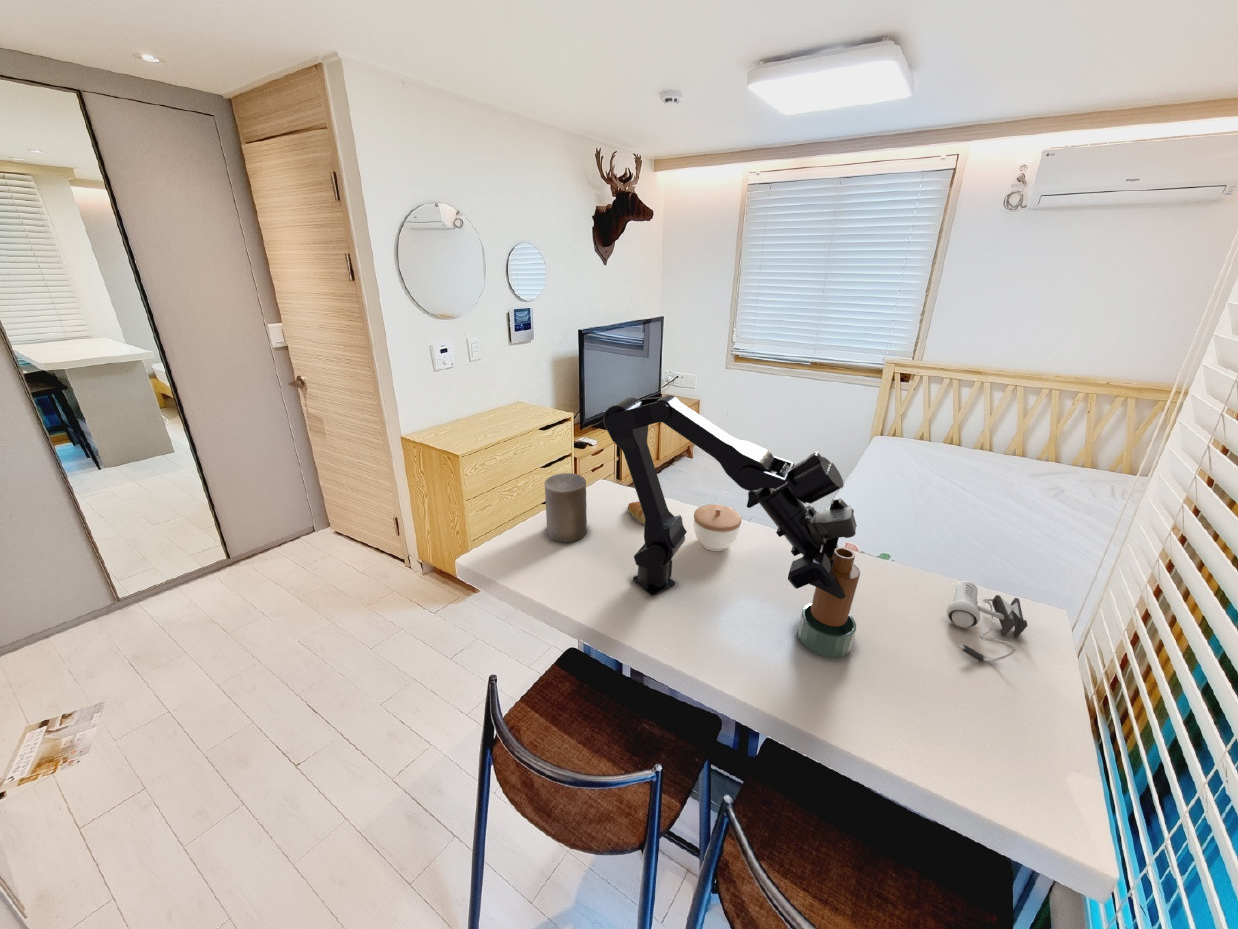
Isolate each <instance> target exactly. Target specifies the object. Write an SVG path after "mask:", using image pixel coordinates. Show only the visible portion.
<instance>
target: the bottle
mask: <svg viewBox="0 0 1238 929" xmlns="http://www.w3.org/2000/svg"><path fill="white" fill-rule="evenodd" d="M828 559H829V561H831V560H833V559H834V564H833V568H832V571H833V573H834V575H835V577H836V578H837V580H838V582H839V583H840V585H841V587H842V589H843V591H844V593H845V595H846V597H845V598H843V599H839V598H837V597H835V596H833V595H831V594H829V593H827V592H825V591H823V590H822V589H819V588H817V587H815V588H814V593H813V596H812V601H811V603H812V605H811V613H812V615H813V616H814V617H815V618H816V619H817V620H818V621H820V622H821V623H823V624H826V625H829V626H842V625H844V624H845V623H846V622H847V619H848V616H849V614H850V612H851V609H852V605H853V601H854V598H855V594H856V590H857V587H858V583H859V579H860V576H861V571H860V568H859V567H858V566H857V565H856V564H854V562H855V559H856V554H855V552H854V551H853V550H851V549H849V548H847V547H841V546H840V547H839V548H836V549H834V552H833V557H832V558H828Z"/></svg>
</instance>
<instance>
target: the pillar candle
mask: <svg viewBox="0 0 1238 929" xmlns="http://www.w3.org/2000/svg"><path fill="white" fill-rule="evenodd" d="M544 494H545V495H544V496H545V517H546V532H547V537H548V538H549V539H551V540H552V541H554V542H556V543H557V542H558V543H566V544H568V543H574V542H578V541H580V540H582V539H583V538H585V537H586V536H587V534H588V529H587V524H588V520H587V517H588V516H587V480H586V478H585V477H584V476H582V475H580V474H577V473H573V472H572V473H571V472H563V473H555V474H552V475H550V476H549V477H547V478H546V479H545V481H544Z"/></svg>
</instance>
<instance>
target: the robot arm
mask: <svg viewBox="0 0 1238 929" xmlns="http://www.w3.org/2000/svg"><path fill="white" fill-rule="evenodd" d="M602 421H603V425H604V427H605V429H606V431H607V433H608V435H609V437H610V439H611V441H612V442H613V443H614V444H615V445H616V446H617V447H618V448H619V449H620V450H621V451H622V453H623V455H624V458H625V462H626V464H627V468H628V471H629V475H630V477H631V481H632V483H633V486H634V489H635V492H636V495H637V498H638V502H640V505H641V508H642V511H643V514H644V517H645V525H644V527H643V528H644V530H643V541H644V543H643V544H642V546H641V547H640V548H639V549H638V551H637V552H636V553H635V554H634V555H633V559H634V562H635V565H636V566H638V567H637V575H635V576H633V577H632V581H633V582H634V583H636V584H637V585H638V586H639V587H640V588H642V589H643V590H644V591H645V592H647V593H648V594H649V596H655V595H657V594H659V593H661V592H663V591H665V590H667V589H670V588H671V587H673V586H675V585H676V581H675V580H674V579H672V572H673V560H672V559H673V558H674V556H676V553H677V552H678V551H679V550H680V548H681V547H682V546H683V544H684V543H685V540H686V534H687V533H688V531H687V530H686V528H685V526H684V523H683V517H682V515H680V514H679V515H674V514H673V513H672V512H671V511H670V510H669V508H668V505H667V502H666V499H665V495H664V493H663V489H662V486H661V483H660V480H659V477H658V473H657V470H656V467H655V464H654V461H653V457H652V455H651V451H650V448H649V445H648V435H649V426H650V425H653V424H658V423H663V424H664V425H665V426H667V427H669V428H670V429H671V430H673V431H674V432H675V433H677V434H679V435H680V436H682V437H683V438H685V439H686V440H687V441H689V442H690V443H691V444H693V445H695V446H696V447H697V448H699V449H700V450H702V451H703V452H705V453H706V454H707V455H709V456H710V457H712V458H713V459H715V460H716V461H717V462H718V463H719V464H720V466H721V467H722V469H723V471H724V472H725V474H726V475H727V476H728V477H729V478H730V479H731V480H732V481H733V482H734V483H735V484H736V485H737V486H738V487H740V488H741V489H743V490H745V491H748V492H747V498H748V499H747V503H746V508H748V509H751V508H753V507H755V506H757V505H758V504H759V505H760V507H762V509H763V510H764V511H765V512H766V514H767V515H768V516H769V518H770V519H771V520H772V522H773V523H774V525H775V526H776V527H777V529H776V531H775V533H776V535H777V536H778V537H779V538H781V537H783V536H784V538H785V539H786V540H787V541H788V543H789V544H790V545H791V550H790V553H791V554H792V556H793V557H797V556H798V555H800V554H801V555H802V557H800V558H797V559H795V560H793V561H791V564H790V567H789V571H788V574H787V580H788V582H789V583H790V584H791V586H792V587H793V588H794V589H797V590H799V589H800V588H802V587H805V586H807V585H811V586H813V587H815V588H816V587H817V588H819V589H822V590H823V591H825V592H827V593H829V594H831V595H833V596H835V597H837V598H839V599H843V598H845V597H846V595H845V593H844V591H843V589H842V587H841V585H840V583H839V582H838V580H837V578H836V577H835V575H834V573H833V571H832V568H833V564H834V559H833V560H831V561H829V559H828V558H832V557H833V552H834V549H836V548H840V547H839V545H838V542H839V538H845V539H848V538H849V539H850V538H853V537H854V536H855V535H856V534H857V533H856V531H857V526H858V525H857V521H856V518H855V514H854V512H855V509H853V508H852V507H851V505H850V504H849V505H848V504H847V503H846V502H845V501H844V500H843V499H842V498H840V497H839V498H833V499H831V502H830V506H829V509H828V508H827V507H826V508H824V510H823V511H817V510H816V509H815V507H814V506H811V504H814V503H815V502H817V501H819V500H821V499H823V498H825V497H827V496H829V495H831V494H833V493H834V492H835V493H836V492H837V491H839V490H841V489H843V488H844V486H845V485H844V480H843V477H842V475H841V473H840V471H839V470H838V468H837V466H836V465H835V464H834V462H831V461H830V460H829V459H828V458H826V457H825V456H822V455H821V454H820V452H819V451H815V452H812V453H811V454H809V455H808V456H807V457H806V458H805V459H803V460H802V461H800V462H798V463H794V462H792V461H790V460H787V459H784V458H780V457H778V456H775V455H773V453H772V452H770V451H769V450H768V449H766V448H763V447H762V446H759V445H757V444H755V443H754V442H753V443H752V442H750V441H747V440H744V439H743V440H742V439H738V438H736V437H734V436H732V435H730V434H728V433H727V432H726V431H725V430H723V429H721V428H719V427H718V426H717V425H715V424H713V422H711V421H709V420H708V419H706V418H705V417H703V416H702V415H700V414H699V413H697V412H696V411H694V409H693V410H692V408H690V407H688V406H687V405H685V404H684V403H682V402H681V401H680V400H679V398H678V397H676V396H675V395H671V394H666V395H664V396H659V397H657V396H656V397H648V398H643V399H638V398H637V397H636V398H635V397H626V398H624V399H622V400H620V401H619V402H617V403H615V404H612V405H611V406H609V407H608V408H607V409H606V411H605V412H604V415H603V419H602ZM774 473H775V474H774ZM805 504H810V505H807V506H805Z"/></svg>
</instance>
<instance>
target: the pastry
mask: <svg viewBox="0 0 1238 929" xmlns="http://www.w3.org/2000/svg"><path fill="white" fill-rule="evenodd" d="M627 511H628V512H629V513H630V514H631V516H632V518H633V519H634V520H635V521H637V522H639V523H640V524H641V525H643V526H645V517H644V514H643V511H642V508H641V505H640V502H639V501H632V502H630V503H629V502H628V505H627Z"/></svg>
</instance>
